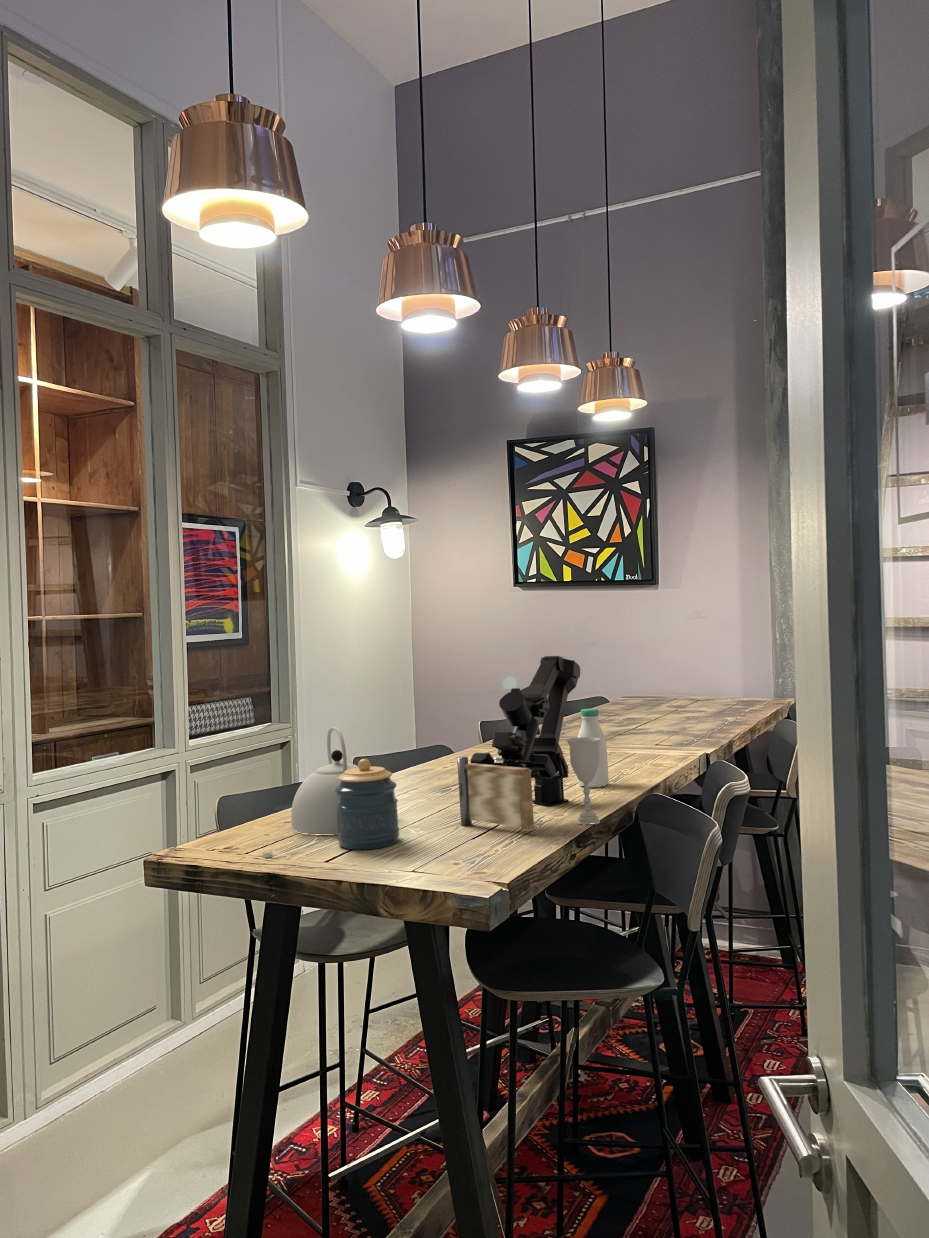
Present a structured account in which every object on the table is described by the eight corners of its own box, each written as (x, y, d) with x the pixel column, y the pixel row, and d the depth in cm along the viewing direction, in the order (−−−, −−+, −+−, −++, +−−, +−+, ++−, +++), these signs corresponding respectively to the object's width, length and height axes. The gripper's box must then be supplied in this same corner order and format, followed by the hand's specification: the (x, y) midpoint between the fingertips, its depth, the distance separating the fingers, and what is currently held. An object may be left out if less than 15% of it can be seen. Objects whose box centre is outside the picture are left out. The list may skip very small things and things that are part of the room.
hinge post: (467, 823, 204) (463, 756, 204) (474, 824, 202) (469, 757, 202) (458, 824, 203) (454, 757, 203) (465, 826, 201) (461, 758, 201)
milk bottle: (613, 783, 239) (609, 707, 239) (601, 789, 233) (597, 711, 233) (586, 782, 244) (582, 707, 243) (574, 787, 237) (569, 710, 237)
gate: (469, 821, 200) (465, 764, 200) (475, 819, 202) (471, 763, 202) (528, 830, 189) (524, 769, 189) (534, 828, 190) (530, 768, 190)
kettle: (282, 819, 221) (277, 726, 220) (373, 807, 228) (368, 717, 228) (300, 841, 197) (294, 737, 197) (401, 826, 205) (395, 726, 205)
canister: (347, 854, 183) (342, 766, 183) (330, 841, 195) (325, 758, 195) (408, 844, 188) (403, 758, 188) (388, 832, 200) (383, 751, 200)
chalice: (608, 818, 200) (603, 737, 200) (602, 826, 193) (597, 741, 193) (575, 818, 202) (570, 737, 202) (568, 825, 196) (563, 742, 196)
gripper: (471, 716, 206) (449, 774, 196) (547, 717, 196) (527, 777, 187) (490, 746, 212) (469, 803, 203) (564, 748, 203) (546, 808, 194)
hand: (501, 797), depth 196 cm, fingers closed
